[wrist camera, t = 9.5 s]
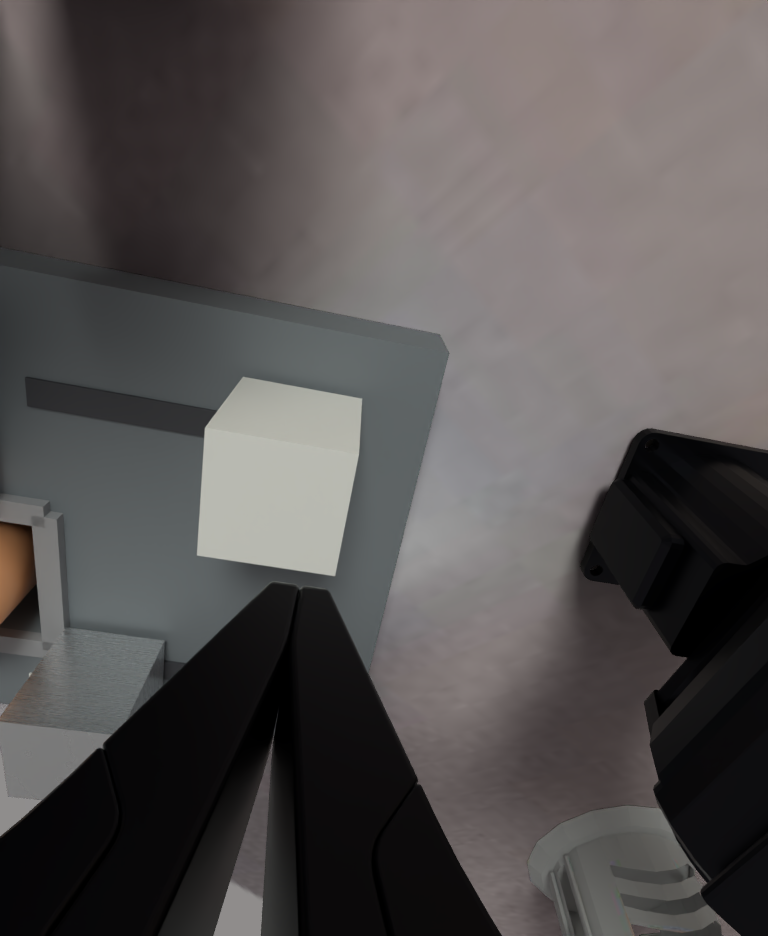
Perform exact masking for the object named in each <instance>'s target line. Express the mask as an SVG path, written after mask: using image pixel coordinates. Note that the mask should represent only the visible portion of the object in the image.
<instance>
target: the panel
mask: <svg viewBox="0 0 768 936" xmlns="http://www.w3.org/2000/svg"><path fill="white" fill-rule="evenodd" d="M448 356H449V352H448V350H447V348H446V346H445V344H444V342H443V340H442V338H441V336H440V334H435V333H430V332H425V331H420V330H415V329H410V328H405V327H400V326H395V325H390V324H384V323H379V322H374V321H369V320H364V319H359V318H354V317H349V316H344V315H339V314H334V313H329V312H324V311H319V310H314V309H309V308H304V307H299V306H294V305H289V304H284V303H279V302H274V301H269V300H264V299H259V298H254V297H249V296H244V295H239V294H234V293H229V292H224V291H219V290H214V289H209V288H204V287H199V286H194V285H188V284H183V283H178V282H173V281H168V280H163V279H158V278H153V277H148V276H143V275H138V274H133V273H128V272H123V271H118V270H113V269H108V268H103V267H98V266H93V265H88V264H83V263H78V262H73V261H68V260H63V259H58V258H53V257H48V256H43V255H38V254H33V253H28V252H23V251H18V250H13V249H8V248H3V247H0V521H3V522H9V523H16V524H23V525H29V526H32V534H33V545H34V556H35V567H36V578H37V585H35V586H34V587H33V588H32V589H31V591H30V592H29V593H28V594H27V595H26V596H25V597H24V598H23V600H22V601H21V602H20V603H19V604H18V605H17V606H16V608H15V609H14V610H13V611H12V612H11V613H10V614H9V615H8V617H7V618H6V619H5V620H4V621H3V622H2V623H1V624H0V703H3V704H10V703H11V701H12V700H13V699H14V697H15V696H16V694H17V693H18V692H19V690H20V689H21V688H22V686H23V685H24V683H25V682H26V681H27V679H28V678H29V677H30V675H31V674H32V672H33V671H34V670H35V668H36V667H37V666H38V664H39V663H40V661H41V660H42V659H43V657H44V656H45V655H46V653H47V652H48V650H49V649H50V648H51V646H52V645H53V644H54V642H55V641H56V639H57V638H58V637H59V635H60V634H61V633H62V631H63V630H64V628H65V627H68V628H76V629H83V630H91V631H98V632H106V633H113V634H121V635H128V636H135V637H143V638H150V639H158V640H165V644H164V672H163V685H164V684H165V683H166V682H167V681H168V680H169V679H170V678H171V677H172V676H173V675H174V674H175V673H176V672H177V671H178V670H180V669H181V668H182V667H183V666H184V665H185V664H186V663H187V662H188V661H189V660H190V659H191V658H192V657H193V656H194V655H195V654H196V653H197V652H198V651H199V650H200V649H201V648H202V647H203V646H204V645H205V644H207V643H208V642H209V641H210V640H211V639H212V638H213V637H214V636H215V635H216V634H217V633H218V632H219V631H220V630H221V629H222V628H223V627H224V626H225V625H226V624H227V623H228V622H229V621H230V620H231V619H232V618H234V617H235V616H236V615H237V614H238V613H239V612H240V611H241V610H242V609H243V608H244V607H245V606H246V605H247V604H248V603H249V602H250V601H251V600H252V599H253V598H254V597H255V596H256V595H257V594H258V593H259V592H261V591H262V590H263V589H264V588H265V587H266V586H267V585H268V584H269V583H270V582H273V581H277V582H284V583H291V584H296V585H298V587H299V591H300V588H301V587H302V586H311V587H318V588H325V589H327V590H329V591H330V593H331V595H332V597H333V599H334V601H335V604H336V606H337V608H338V610H339V612H340V614H341V616H342V619H343V621H344V623H345V625H346V627H347V629H348V631H349V633H350V636H351V638H352V640H353V642H354V644H355V646H356V648H357V650H358V653H359V655H360V657H361V659H362V661H363V663H364V665H365V668H366V670H367V672H368V673H369V669H370V665H371V661H372V657H373V653H374V649H375V645H376V641H377V637H378V633H379V629H380V625H381V621H382V617H383V613H384V609H385V605H386V601H387V597H388V593H389V589H390V585H391V582H392V578H393V574H394V570H395V566H396V562H397V558H398V554H399V550H400V546H401V542H402V538H403V534H404V530H405V526H406V522H407V518H408V514H409V510H410V506H411V502H412V498H413V494H414V490H415V486H416V482H417V478H418V475H419V471H420V467H421V463H422V459H423V455H424V451H425V447H426V443H427V439H428V435H429V431H430V427H431V423H432V419H433V415H434V411H435V407H436V403H437V399H438V395H439V391H440V387H441V383H442V379H443V375H444V371H445V368H446V364H447V360H448ZM243 377H247V378H253V379H258V380H264V381H269V382H275V383H280V384H285V385H291V386H296V387H302V388H307V389H313V390H318V391H323V392H329V393H334V394H340V395H345V396H351V397H356V398H361V399H362V411H361V429H360V446H359V457H358V462H357V467H356V472H355V477H354V482H353V487H352V493H351V498H350V503H349V508H348V513H347V518H346V523H345V528H344V533H343V538H342V543H341V548H340V554H339V559H338V564H337V569H336V574H335V576H330V575H324V574H317V573H310V572H304V571H297V570H290V569H284V568H277V567H270V566H264V565H257V564H250V563H244V562H237V561H231V560H224V559H217V558H211V557H204V556H197V546H198V530H199V514H200V498H201V482H202V466H203V450H204V434H205V427H206V425H207V424H208V423H209V421H210V420H211V419H212V417H213V416H214V415H215V413H216V412H217V411H218V409H219V408H220V407H221V405H222V404H223V403H224V401H225V400H226V399H227V397H228V396H229V395H230V393H231V392H232V391H233V389H234V388H235V387H236V385H237V384H238V383H239V382H240V380H241V379H242V378H243ZM298 596H299V595H298ZM277 715H278V714H277ZM276 721H277V720H276ZM275 727H276V725H275ZM274 734H275V730H274ZM273 736H274V735H273Z"/></svg>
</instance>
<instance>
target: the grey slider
mask: <svg viewBox="0 0 768 936" xmlns="http://www.w3.org/2000/svg"><path fill="white" fill-rule="evenodd" d="M164 644H165V640H158V639H150V638H143V637H135V636H128V635H121V634H113V633H106V632H98V631H91V630H83V629H76V628H68V627H65V628H64V630H63V631H62V633H61V634H60V635H59V637H58V638H57V639H56V641H55V642H54V644H53V645H52V646H51V648H50V649H49V650H48V652H47V653H46V655H45V656H44V657H43V659H42V660H41V661H40V663H39V664H38V666H37V667H36V668H35V670H34V671H33V672H32V674H31V675H30V677H29V678H28V679H27V681H26V682H25V683H24V685H23V686H22V688H21V689H20V690H19V692H18V693H17V694H16V696H15V697H14V699H13V700H12V701H11V703H10V704H9V705H8V707H7V708H6V710H5V711H4V712H3V714H2V715H1V717H0V746H1V752H2V759H3V766H4V773H5V779H6V786H7V793H8V797H17V798H27V799H37V800H43V799H44V798H45V797H46V796H47V795H48V794H49V793H51V792H52V791H53V790H54V789H55V788H56V787H57V786H58V785H59V784H60V783H61V782H63V781H64V780H65V779H66V778H67V777H68V776H69V775H70V774H71V773H72V772H73V771H74V770H75V769H76V768H77V767H78V766H79V765H80V764H81V763H82V762H84V761H85V760H86V759H87V758H88V757H89V756H90V755H91V754H92V753H93V752H94V751H95V750H96V749H97V748H102V749H103V743H104V742H105V741H106V740H107V739H108V738H109V737H110V736H111V735H112V734H113V733H114V732H115V731H116V730H117V729H118V728H119V727H120V726H121V725H122V724H123V723H124V722H125V721H127V720H128V719H129V718H130V717H131V716H132V715H133V714H134V713H135V712H136V711H137V710H138V709H139V708H140V707H141V706H142V705H143V704H144V703H145V702H146V701H147V700H148V699H149V698H150V697H151V696H152V695H154V694H155V693H156V692H157V691H158V690H159V689H160V688H161V687H162V686H163V672H164Z"/></svg>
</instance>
